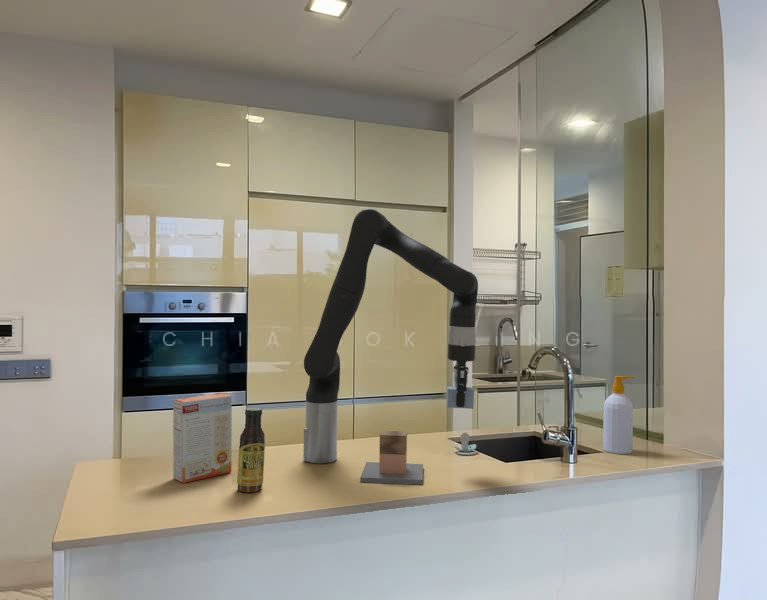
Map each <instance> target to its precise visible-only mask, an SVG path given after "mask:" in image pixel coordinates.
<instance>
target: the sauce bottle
mask: <svg viewBox="0 0 767 600" xmlns="http://www.w3.org/2000/svg"><path fill="white" fill-rule="evenodd" d="M244 414H245V415H244V416H245V424H244V425H245V426H244V428H243V430H242V433H241V434H240V438H239V446H238V462H237V476H236V477H237V479H236V483H237V491H239V492H241V493H255V492H259V491H261V490H262V488H263V484H264V471H265V452H266V451H265V449H266V443H265V442H266V441H265V439H266V438H265V433H264V431H263V428H262V415H263V409H262V408H261V407H260V408H259V407H247V408H245V411H244Z"/></svg>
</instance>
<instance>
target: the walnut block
mask: <svg viewBox="0 0 767 600" xmlns="http://www.w3.org/2000/svg"><path fill="white" fill-rule="evenodd" d="M407 448H408V432H407V431H400V430H398V431H397V430H381V431H380V434H379V455H380V454H396V455H406V451H407V452H408V449H407Z"/></svg>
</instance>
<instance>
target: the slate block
mask: <svg viewBox="0 0 767 600" xmlns="http://www.w3.org/2000/svg"><path fill="white" fill-rule="evenodd" d="M446 388H447V389H446V408H449V409H450V408H452V409H469V410H473V409H474V402H475V400H474V399H475V389H474V387H471V386H469V387H468V386H466V389H467V391H466V392H465V405H464V407H457V406H456V395H457V393H456V387H455V386H447V387H446Z"/></svg>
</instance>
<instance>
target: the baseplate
mask: <svg viewBox="0 0 767 600" xmlns="http://www.w3.org/2000/svg"><path fill="white" fill-rule="evenodd" d="M407 452H408V450H407V451H406V455H396V454H380V453H379V461H378V462H377V461H376V462H375V461H374V462H373V461H365V465H364V467H363V470H362V472H361V475H360V481H359V482H360V483H372V484H373V483H377V484H395V483H396V484H397V485H398V484H399V485H400V484H401V485H403V484H404V485H420V484H422V485H423V480H424V478H423V477H424V476H423V475H424V464H423V463H408V462H407V458H408V457H407V456H408V455H407V454H408V453H407Z"/></svg>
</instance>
